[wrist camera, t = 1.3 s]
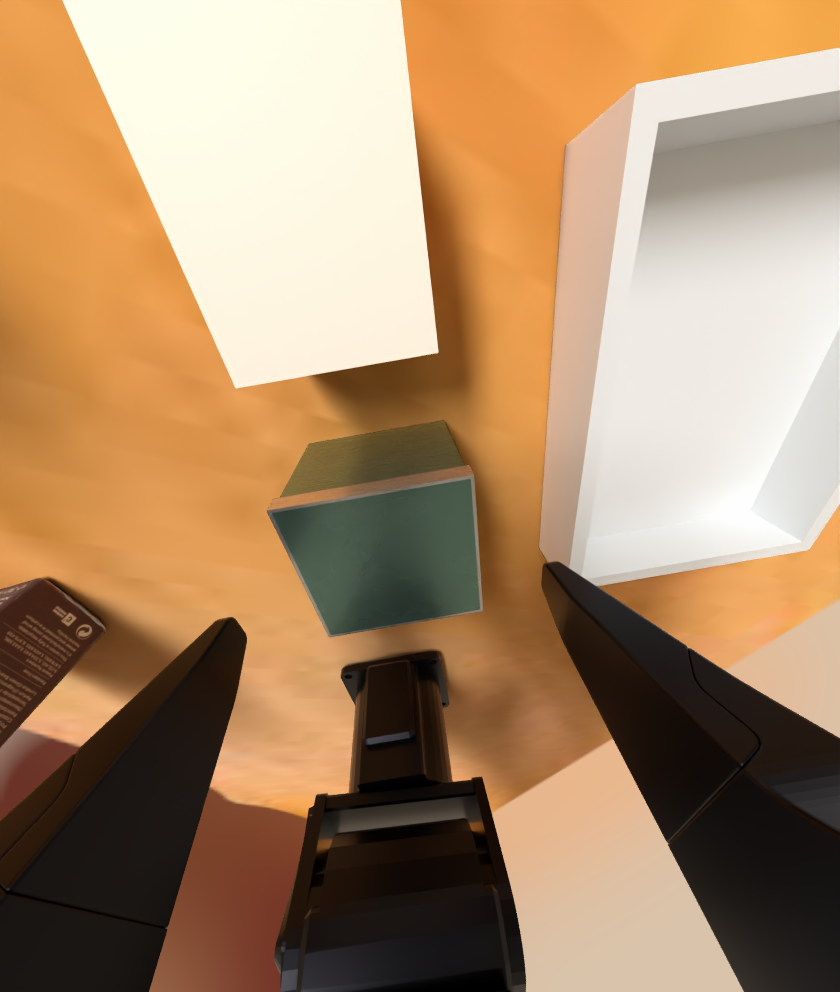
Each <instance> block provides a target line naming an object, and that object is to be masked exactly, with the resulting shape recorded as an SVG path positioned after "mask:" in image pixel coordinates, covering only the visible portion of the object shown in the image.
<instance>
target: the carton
mask: <svg viewBox="0 0 840 992" xmlns="http://www.w3.org/2000/svg"><path fill="white" fill-rule="evenodd" d="M63 3H64V5H65V7H66V9H67V12H68V14H69V16H70V18H71V21H72V23H73V25H74V27H75V30H76V32H77V34H78V36H79V39H80V41H81V43H82V45H83V47H84V50H85V52H86V54H87V56H88V59H89V61H90V63H91V65H92V68H93V70H94V72H95V74H96V77H97V79H98V81H99V83H100V86H101V88H102V90H103V92H104V94H105V97H106V99H107V101H108V103H109V106H110V108H111V110H112V112H113V115H114V117H115V119H116V121H117V124H118V126H119V128H120V130H121V133H122V135H123V137H124V139H125V142H126V144H127V146H128V148H129V150H130V153H131V155H132V157H133V159H134V162H135V164H136V166H137V168H138V171H139V173H140V175H141V177H142V180H143V182H144V184H145V186H146V189H147V191H148V193H149V195H150V198H151V200H152V202H153V204H154V206H155V209H156V211H157V213H158V215H159V218H160V220H161V222H162V224H163V227H164V229H165V231H166V233H167V236H168V238H169V240H170V242H171V245H172V247H173V249H174V251H175V254H176V256H177V258H178V260H179V262H180V265H181V267H182V269H183V271H184V274H185V276H186V278H187V280H188V283H189V285H190V287H191V289H192V292H193V294H194V296H195V298H196V301H197V303H198V305H199V307H200V310H201V312H202V314H203V316H204V318H205V321H206V323H207V325H208V327H209V330H210V332H211V334H212V336H213V339H214V341H215V343H216V345H217V348H218V350H219V352H220V354H221V357H222V359H223V361H224V363H225V366H226V368H227V370H228V372H229V374H230V377H231V379H232V381H233V383H234V386H235V388H241V387H247V386H252V385H258V384H264V383H269V382H275V381H281V380H287V379H292V378H298V377H304V376H309V375H315V374H321V373H326V372H332V371H338V370H344V369H349V368H355V367H361V366H366V365H372V364H378V363H384V362H389V361H395V360H401V359H406V358H412V357H418V356H423V355H429V354H435V353H439V352H438V343H437V334H436V325H435V315H434V306H433V297H432V288H431V278H430V269H429V260H428V251H427V242H426V232H425V223H424V214H423V205H422V196H421V186H420V177H419V168H418V159H417V149H416V140H415V131H414V122H413V113H412V103H411V94H410V85H409V76H408V67H407V57H406V48H405V39H404V30H403V20H402V11H401V2H400V0H63Z"/></svg>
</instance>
